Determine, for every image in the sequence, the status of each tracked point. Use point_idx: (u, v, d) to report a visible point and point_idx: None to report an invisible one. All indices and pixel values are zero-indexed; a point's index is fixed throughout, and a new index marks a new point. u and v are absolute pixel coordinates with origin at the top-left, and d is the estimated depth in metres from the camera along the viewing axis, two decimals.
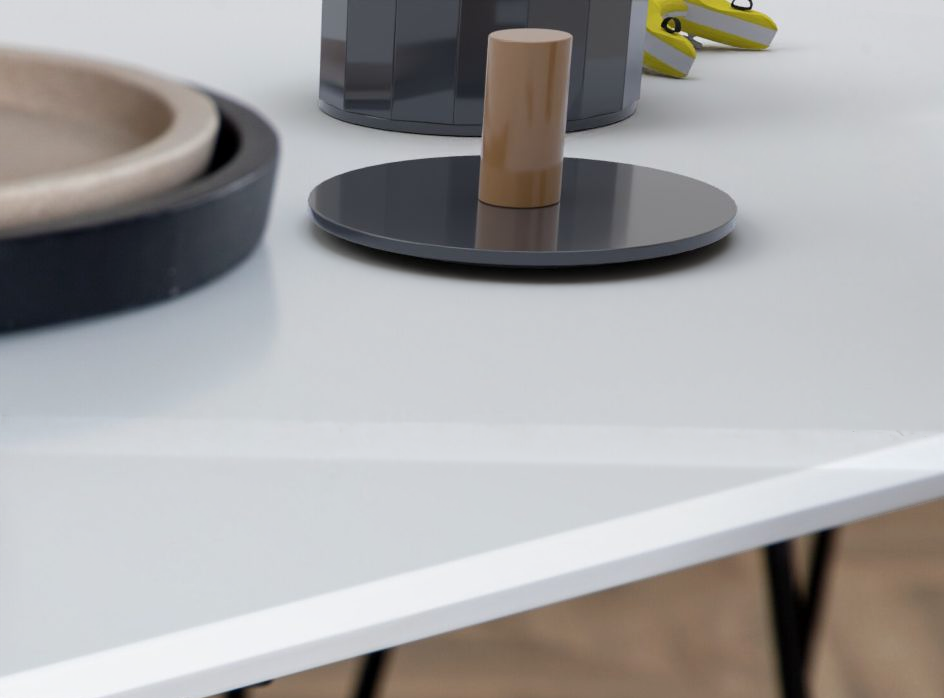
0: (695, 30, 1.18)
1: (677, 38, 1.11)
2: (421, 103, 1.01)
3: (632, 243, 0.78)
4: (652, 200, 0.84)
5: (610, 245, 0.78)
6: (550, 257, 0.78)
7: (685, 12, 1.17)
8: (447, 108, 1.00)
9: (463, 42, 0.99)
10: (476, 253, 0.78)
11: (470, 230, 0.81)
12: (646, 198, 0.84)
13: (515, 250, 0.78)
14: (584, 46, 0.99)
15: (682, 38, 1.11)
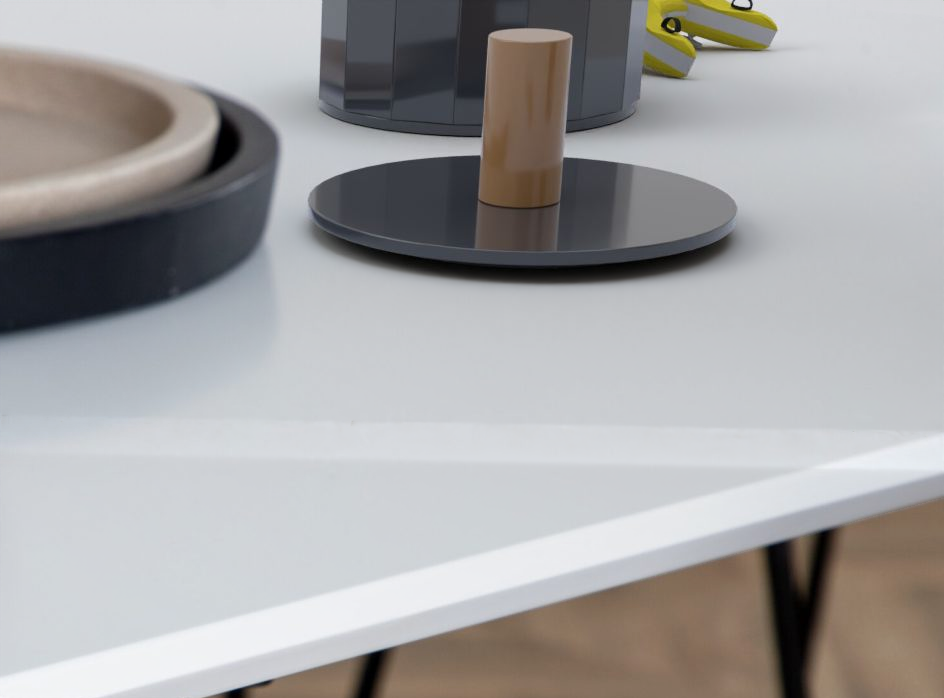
0: (695, 30, 1.18)
1: (677, 38, 1.11)
2: (421, 103, 1.01)
3: (632, 243, 0.78)
4: (652, 200, 0.84)
5: (610, 245, 0.78)
6: (550, 257, 0.78)
7: (685, 12, 1.17)
8: (447, 108, 1.00)
9: (463, 42, 0.99)
10: (476, 253, 0.78)
11: (470, 230, 0.81)
12: (646, 198, 0.84)
13: (515, 250, 0.78)
14: (584, 46, 0.99)
15: (682, 38, 1.11)
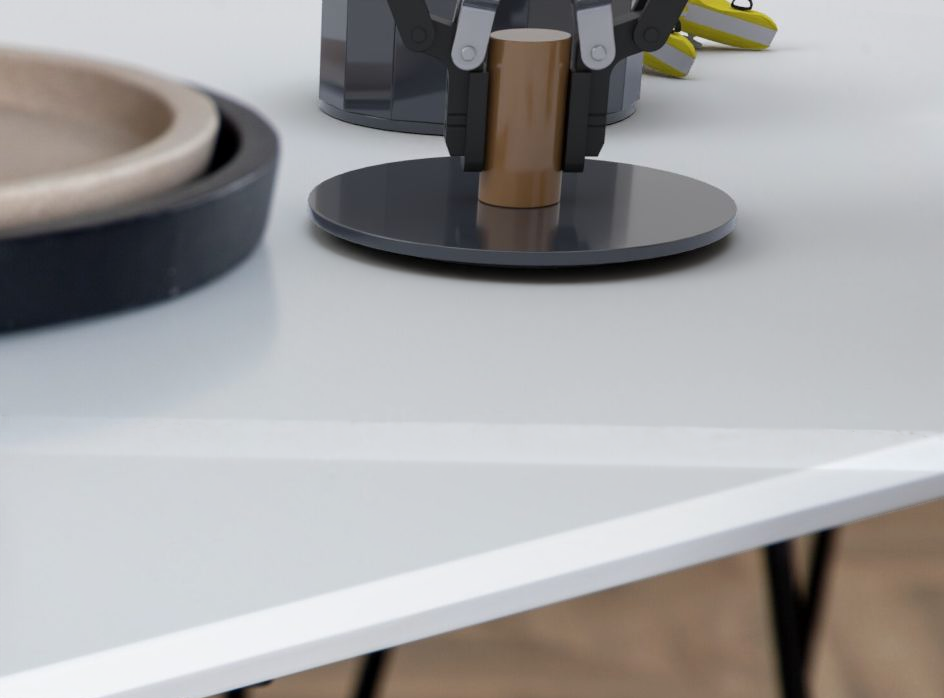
0: (695, 30, 1.18)
1: (677, 38, 1.11)
2: (421, 103, 1.01)
3: (632, 243, 0.78)
4: (652, 200, 0.84)
5: (610, 245, 0.78)
6: (550, 257, 0.78)
7: (685, 12, 1.17)
8: None
9: None
10: (476, 253, 0.78)
11: (470, 230, 0.81)
12: (646, 198, 0.84)
13: (515, 250, 0.78)
14: None
15: (682, 38, 1.11)
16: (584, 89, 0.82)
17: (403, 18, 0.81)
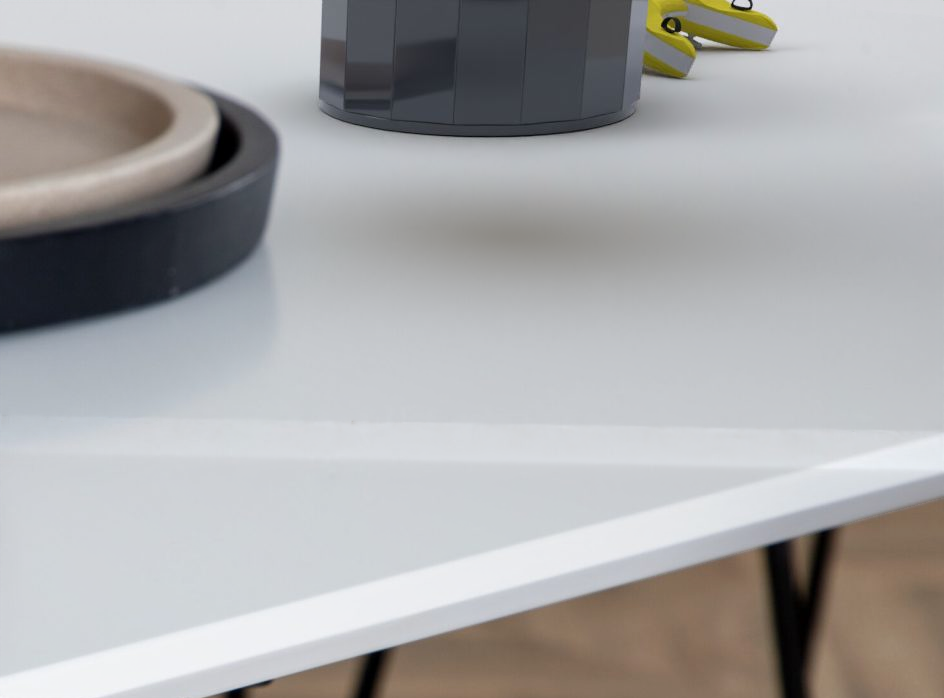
0: (695, 30, 1.18)
1: (677, 38, 1.11)
2: (421, 103, 1.01)
3: None
4: None
5: None
6: None
7: (685, 12, 1.17)
8: (447, 108, 1.00)
9: (463, 42, 0.99)
10: None
11: None
12: None
13: None
14: (584, 46, 0.99)
15: (682, 38, 1.11)
16: None
17: None
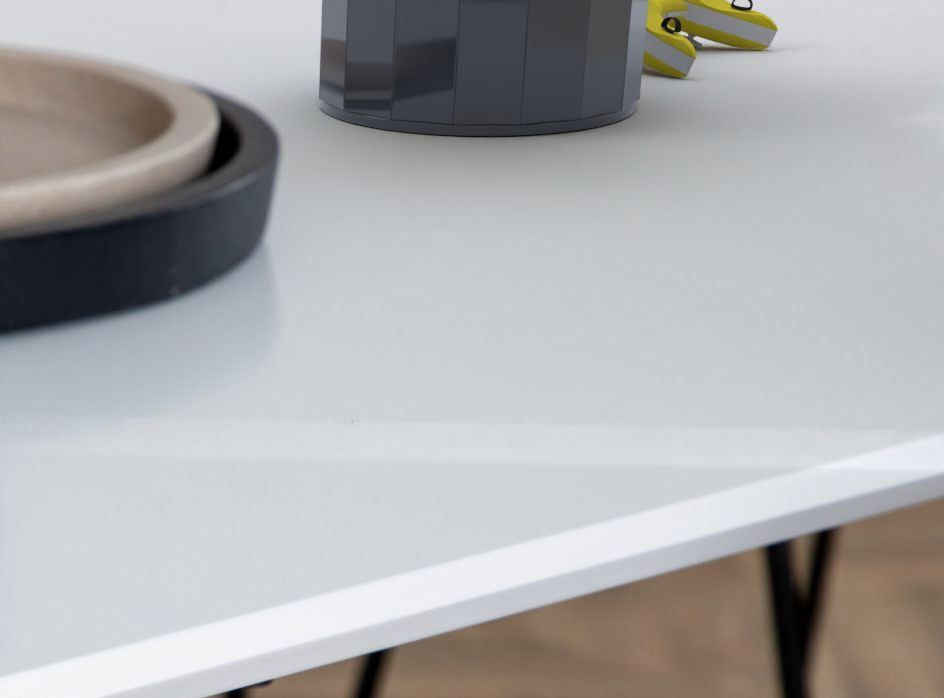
0: (695, 30, 1.18)
1: (677, 38, 1.11)
2: (421, 103, 1.01)
3: None
4: None
5: None
6: None
7: (685, 12, 1.17)
8: (447, 108, 1.00)
9: (463, 42, 0.99)
10: None
11: None
12: None
13: None
14: (584, 46, 0.99)
15: (682, 38, 1.11)
16: None
17: None
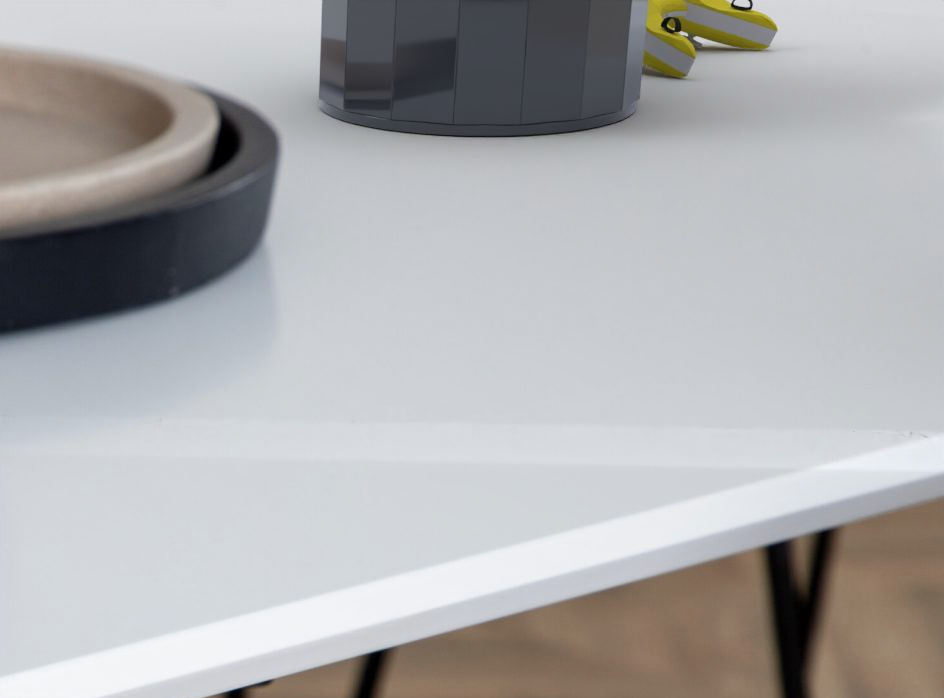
0: (695, 30, 1.18)
1: (677, 38, 1.11)
2: (421, 103, 1.01)
3: None
4: None
5: None
6: None
7: (685, 12, 1.17)
8: (447, 108, 1.00)
9: (463, 42, 0.99)
10: None
11: None
12: None
13: None
14: (584, 46, 0.99)
15: (682, 38, 1.11)
16: None
17: None
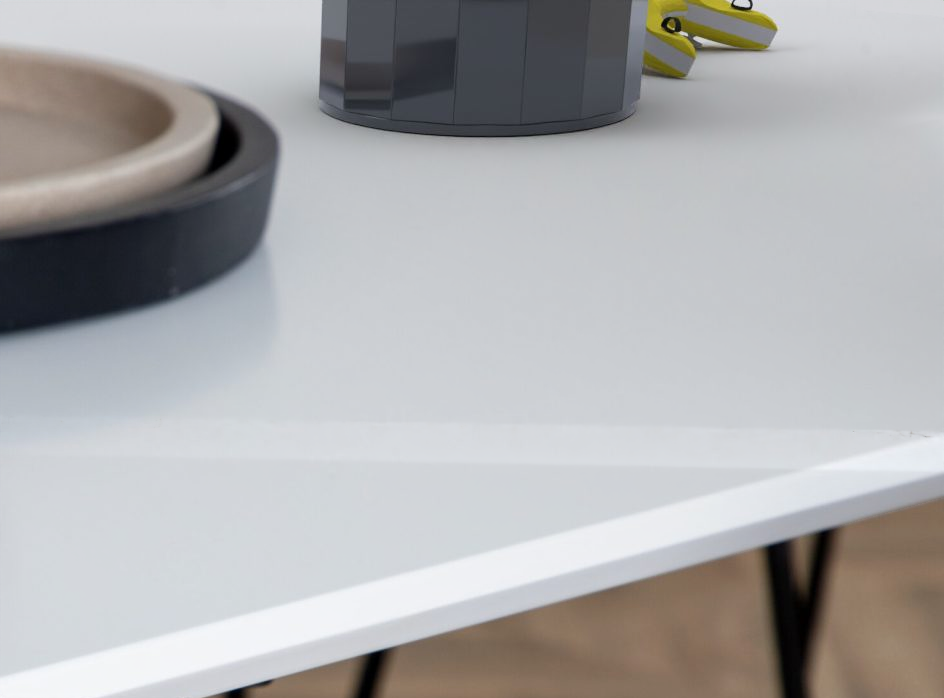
0: (695, 30, 1.18)
1: (677, 38, 1.11)
2: (421, 103, 1.01)
3: None
4: None
5: None
6: None
7: (685, 12, 1.17)
8: (447, 108, 1.00)
9: (463, 42, 0.99)
10: None
11: None
12: None
13: None
14: (584, 46, 0.99)
15: (682, 38, 1.11)
16: None
17: None
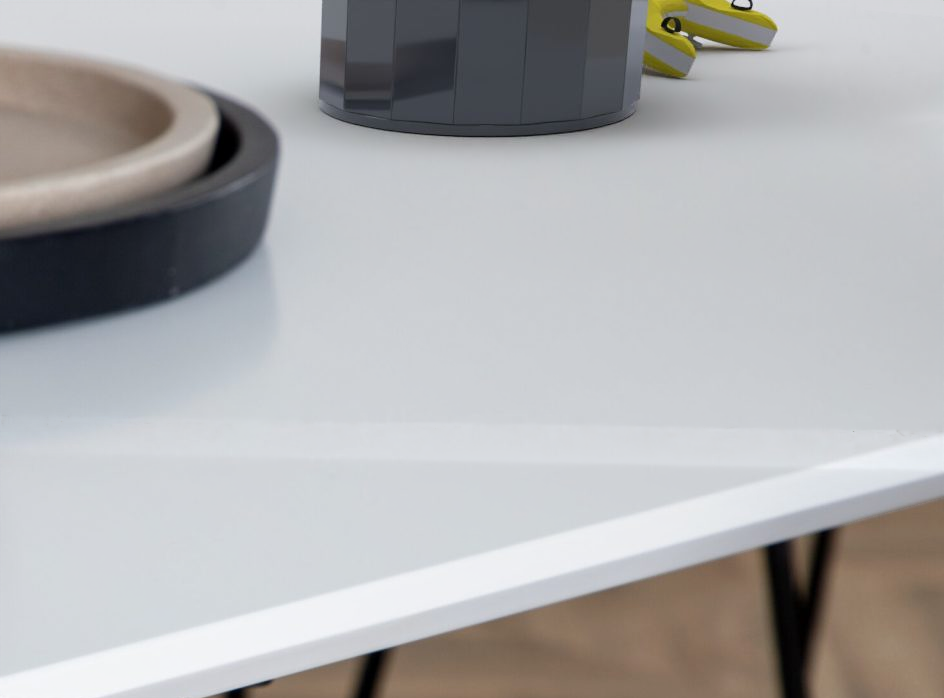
0: (695, 30, 1.18)
1: (677, 38, 1.11)
2: (421, 103, 1.01)
3: None
4: None
5: None
6: None
7: (685, 12, 1.17)
8: (447, 108, 1.00)
9: (463, 42, 0.99)
10: None
11: None
12: None
13: None
14: (584, 46, 0.99)
15: (682, 38, 1.11)
16: None
17: None
